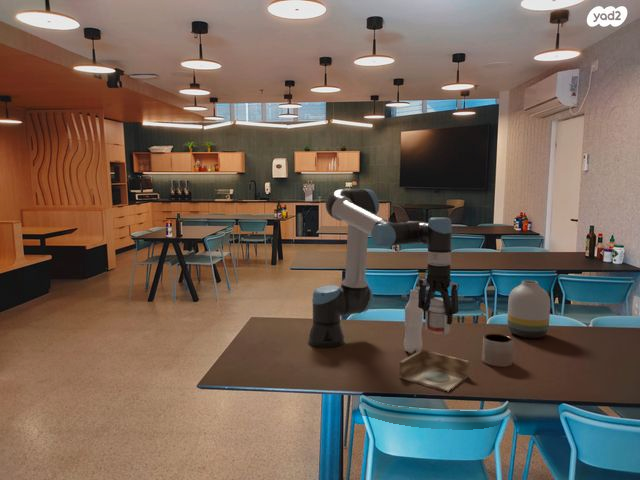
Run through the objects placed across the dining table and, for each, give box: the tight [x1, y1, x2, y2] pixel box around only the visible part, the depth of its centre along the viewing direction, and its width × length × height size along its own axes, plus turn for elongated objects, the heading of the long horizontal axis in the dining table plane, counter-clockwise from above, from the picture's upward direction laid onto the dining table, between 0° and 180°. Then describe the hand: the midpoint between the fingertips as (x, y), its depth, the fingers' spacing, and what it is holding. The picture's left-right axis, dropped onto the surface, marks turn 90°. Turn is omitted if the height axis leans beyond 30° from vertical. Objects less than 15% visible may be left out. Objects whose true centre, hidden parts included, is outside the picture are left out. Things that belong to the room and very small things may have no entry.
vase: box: [507, 279, 551, 339], centre depth 209 cm, size 17×17×24 cm
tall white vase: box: [403, 289, 424, 354], centre depth 188 cm, size 7×7×25 cm
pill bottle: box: [427, 297, 447, 335], centre depth 160 cm, size 6×6×11 cm
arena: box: [399, 348, 470, 393], centre depth 164 cm, size 18×16×6 cm
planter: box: [481, 332, 514, 368], centre depth 177 cm, size 11×11×10 cm
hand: (437, 331), depth 160 cm, fingers closed on pill bottle, 6 cm apart
